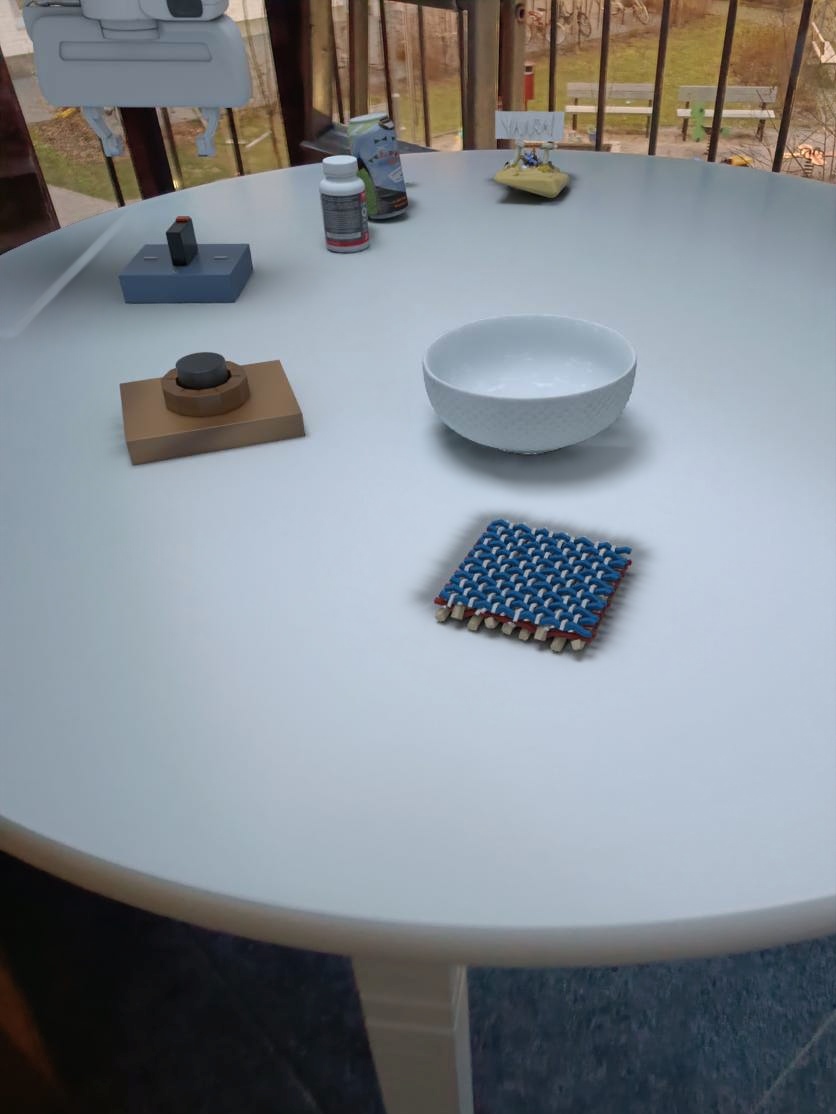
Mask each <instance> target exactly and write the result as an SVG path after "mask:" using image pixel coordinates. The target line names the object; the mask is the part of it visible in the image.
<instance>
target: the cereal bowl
mask: <svg viewBox="0 0 836 1114" xmlns="http://www.w3.org/2000/svg"><path fill="white" fill-rule="evenodd" d="M637 359H638V357H637V351H636V349H635V347H634V346H633V344H632V343H631V341H629V339H627V337H625V336H624V335H623V334H621V333H620V332H618V331H617V330H615V329H613V328H611V327H608V326H606V325H604V324H601V323H597V322H595V321H592V320H588V319H585V318H581V317H580V318H579V317H574V316H568V315H562V314H552V313H511V314H502V315H494V316H488V317H484V318H480V319H475V320H472V321H467V322H464V323H461V324H459V325H456V326H453V327H451V328H449V329H447V330H446V331H443V332H442V333H441V334H439V335H437V336H436V337H435V338H433V339H432V340H431V341H430V342H429V343H428V344H427V346H426V348H425V350H424V351H423V355H422V361H421V365H422V373H423V382H424V387H425V388H424V389H425V391H426V395H427V397H428V400H429V403H430V405H431V407H432V408H433V411H434V412H435V414H436V415H437V416H438V417H439V419H441V420H442V422H443V423H444V424H445V425H447V426H448V427H449V428H450V429H451V430H453V431H454V432H455V433H456V434H458V435H460V436H461V437H462V438H466V439H467V440H469V441H473V442H474V443H477V444H480V445H482V446H487V447H490V448H495V449H497V448H498V449H497V450H499V449H501V450H500V451H502V450H505V451H504V452H506V451H508V452H507V453H510V452H514V453H513V454H516V453H522V454H521V455H525V454H524V453H529V454H528V455H535V454H534V453H542V454H544V453H543V452H547V451H552V452H554V451H553V450H555V451H557V450H556V449H558V450H560V449H559V448H561V447H563V448H565V447H570V446H573V445H576V444H580V443H581V442H585V441H586V440H588V439H590V438H593V437H594V436H596V435H598V434H599V433H601V432H602V431H604V430H607V428H608V427H609V426H610V425H612V424H613V423H614V421H616V420H617V419H618V417H619V416H620V415H621V414H622V413H623V411H624V409H626V407H627V403H628V402H629V401H630V397H631V395H632V393H633V388H634V385H635V378H636V373H637V366H638V363H637V362H638V360H637ZM561 449H562V448H561Z"/></svg>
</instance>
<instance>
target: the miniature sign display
mask: <svg viewBox="0 0 836 1114" xmlns="http://www.w3.org/2000/svg"><path fill="white" fill-rule="evenodd" d="M494 113H495V114H494V115H495V116H494V117H495V118H494V124H495V125H494V126H495V127H494V129H495V130H494V132H495V133H494V135H495V136H494V137H495V138H494V139H495V140H498V139H499V140H501V139H502V140H510V139H513V140H515V141H514V145H515V150H514V154H513V158H511V159H510V162H509V161H506V162H505V164H504V165H503V168H502V170H498V172H496V173H495V174H494V177H493V178H494V181H495V182H496V183H498V184H502V185H505V186H508V187H511V189H514V188H515V189H514V190H517V189H518V190H521V191H526V192H529V193H532V194H534V195H539V196H542V197H545V198H549V199H553V198H556V197H557V196H558V195H559V194H560V192H561V191H562V190H563V189H564V188H565V187H566V186H567V184H568V183H569V182H570V176H569V175H568V174H567V173H565V172H563V171H561V170H560V167H558V166H555V164H553V162H552V160H549V157H550V150H553V148H554V143H558V142H559V143H562V142H563V143H564V142H565V141H564V140H565V115H566V114H565V113H566V111H564V110H559V111H545V110H542V111H537V110H527V111H510V110H508V111H506V110H505V111H504V110H497V109H496V110H495V111H494ZM526 142H542V143H541V148H542V149H544V150H543V157H539V158H538V156H537V154H536V152H537V151H536V149H537V148H536V147H533V148H532V150H531V151H530V152H528V150H524V151H523V152H524V154H521V153H522V150H523V149H524V148H525V146H526ZM542 158H543V159H542ZM405 185H410V183H409V182H405Z"/></svg>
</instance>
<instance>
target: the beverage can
mask: <svg viewBox="0 0 836 1114" xmlns="http://www.w3.org/2000/svg"><path fill="white" fill-rule="evenodd" d="M348 123H349V125H348V128H347V130H346V131H347V132H346V136H347V141H348V146H349V150H350V151H349V152H350V156H353V157H355V158H356V159H357V165H358V170H357V171H358V172H357V173H356V177H359V178H360V179H362V181H363V182H364V184H365V193H366V205H367V216H369V218H370V219H372V220H381V219H383V220H384V219H389V218H392V217H396V216H399V215H401V214H403V213H404V212H405V209H406V208H407V207H408V206H409V199H408V194H407V188H406V182H405V178H404V171H403V165H402V161H401V156H400V155H401V154H400V151H399V145H398V139H397V134H396V133H397V132H396V127H395V124H394V122H393V121H392V120H391V118H390V117H389V116H388V112H385V111H384V112H383V111H382V112H373V113H367V114H363V115H359V116H358V115H357V116H354V117H352V118H350V119H348Z"/></svg>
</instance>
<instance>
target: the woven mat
mask: <svg viewBox="0 0 836 1114" xmlns="http://www.w3.org/2000/svg"><path fill="white" fill-rule="evenodd" d="M509 522H510V520H509V519H506V520H504V519H502V518H500V519H496V520H492V521H491V522H490V524H488V525H487V527H486V531H484V532H483V533H482V534H481V536H480V537H479V538H478V539H477V541H476V542H475V543H474V545H473V546H472V549H471V550H469V552H467V556H465V557H464V559H463V562H461V563H460V564H459V565H458V566H457V568H458V569H459V570H458V569H456V570H455V571H454V573H453V575H451V577H450V579H449V580H448V582H449V583H447V582H446V583H445V584H444V588H443V589H442V590H441V591H440V592H439V594H438V596H436V597H435V598H434V600H433V604H435V605H438V606H440V607H439V609H438V611H436V613H435V615H434V618H435V619H436V620H437V621H440V622H439V623H441V622H443V621H446V619H447V618H448V616H449V615H450V613H451V615H450V617H451V618H454V619H457V620H463V618H467V617H470V616H472V617H471V618H470V620H469V622H468V623H467V625H466V627H467V628H468V629H469V630H470V629H471V630H475V631H477V629H478V628H479V626H480V624H481V622H482V621H483V619H484V625H485V627H486V628H488V629H495V628H496V627H497V626H499V623H500V622H501V623H503V624H502V627H501V632H502V633H503V634H504V633H505V634H504V635H508V634H509V635H508V636H510V635H511V634H512V632H513V631H514V629H515V628H516V627H519V628H521V630H519V631H520V632H519V635H518V639H520V640H522V639H523V640H522V641H524V642H526V641H527V640H528V639H529V638H530V636H531V634H534V637H533V639H535V640H539V641H542V642H546V639H549V638H553V637H554V639H553V641H552V642H551V644H550V649H551V651H552V650H554V651H553V652H561V651H562V649H563V648H564V646H565V643H566V641H567V640H571V641H570V644H571V647H572V650H573V651H574V652H575V651H578V650H582V649H584V647H585V644H586V643H588V644H591V642H592V640H593V639H594V638H596V636H597V633H596V632H595V631H594V630H593V629H595V630H599V627H600V624H601V622H599V621H602V620H603V619H604V613H606V611H607V609H608V608H611V605H612V602H611V600H610V599H608V598H614V596H615V592H617V590H618V588H619V585H621V583H622V578H624V577H625V575H626V571H627V570H628V568H629V567H630V566H632V564H633V561H632V559H631V558H629V559H628V558H627V556H626V555H629V556H631V554H632V551H633V548H631V547H628V546H622V547H621V546H620V547H618V545H615V544H613V545H612V544H611V541H610V540H606V541H605V542H600V541H596V542H592V541H591V540H589V539H588V535H583V536H581V537H579V538H578V536H569V532H567V531H566V532H556V531H554V530H552V531H549V530H548V528H549V527H547V526H544V527H543V528H539V527H533V528H530V527H528V526H527V522H525V521H524V522H521V523H519V524H518V523H516V522H510V523H509ZM471 630H470V631H471Z"/></svg>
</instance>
